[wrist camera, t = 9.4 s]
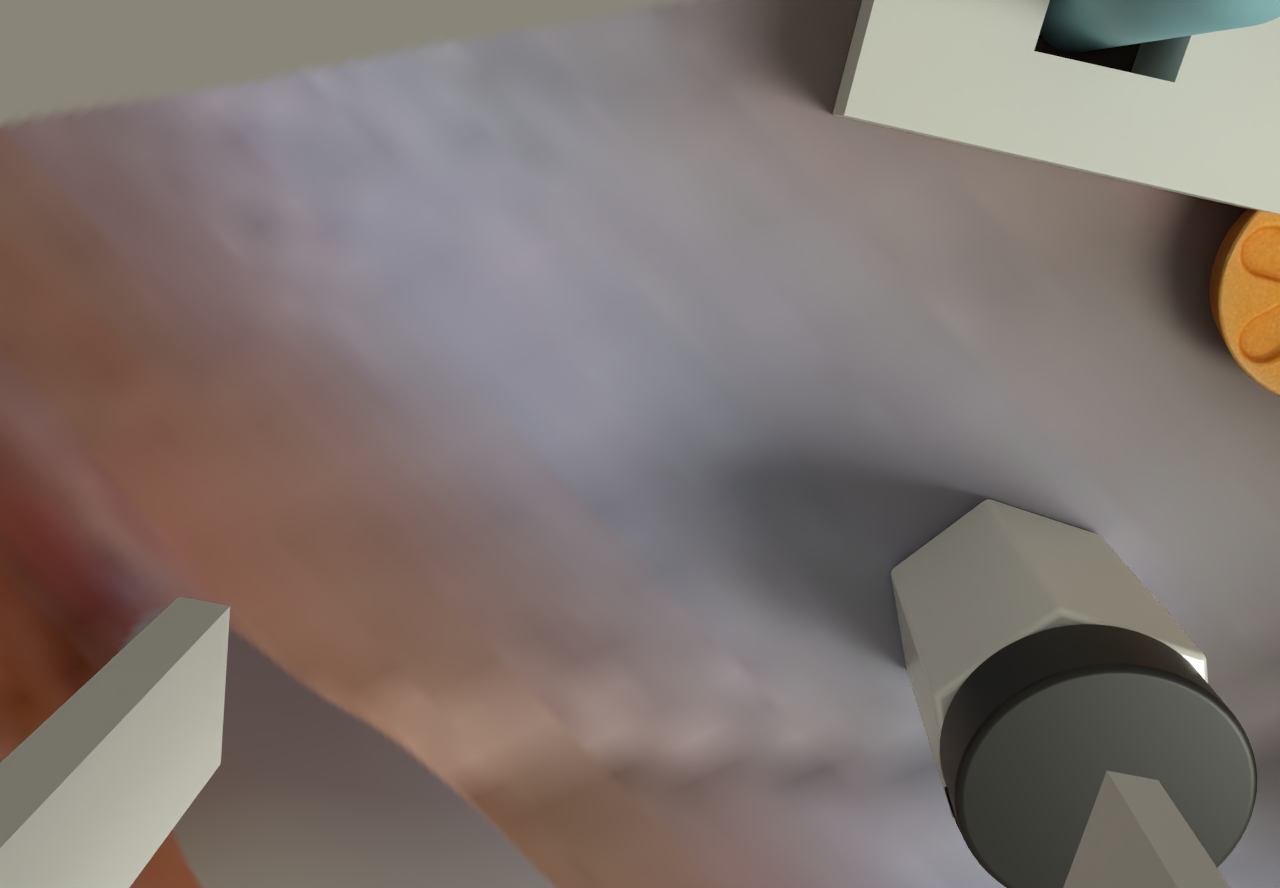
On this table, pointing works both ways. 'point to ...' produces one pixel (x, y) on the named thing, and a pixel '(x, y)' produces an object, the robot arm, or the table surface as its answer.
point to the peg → (1145, 20)
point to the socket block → (1075, 96)
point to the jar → (1058, 692)
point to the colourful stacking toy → (1250, 295)
